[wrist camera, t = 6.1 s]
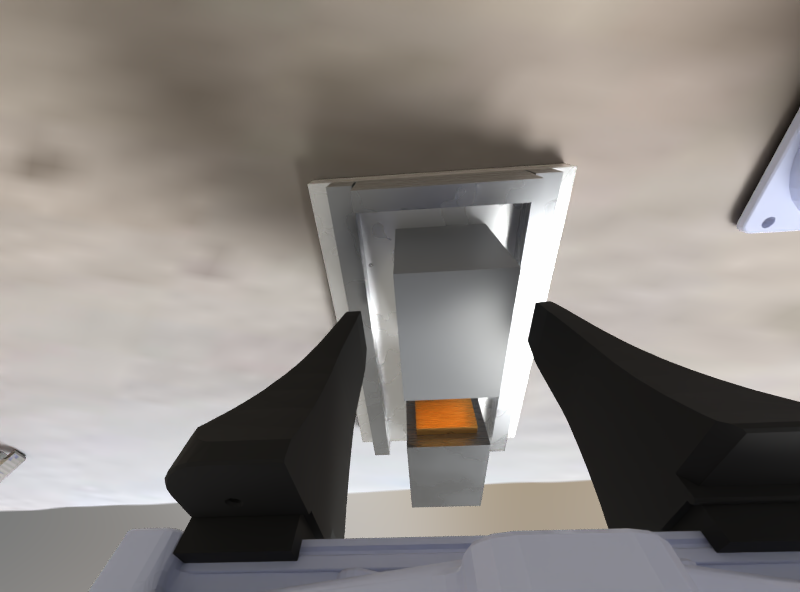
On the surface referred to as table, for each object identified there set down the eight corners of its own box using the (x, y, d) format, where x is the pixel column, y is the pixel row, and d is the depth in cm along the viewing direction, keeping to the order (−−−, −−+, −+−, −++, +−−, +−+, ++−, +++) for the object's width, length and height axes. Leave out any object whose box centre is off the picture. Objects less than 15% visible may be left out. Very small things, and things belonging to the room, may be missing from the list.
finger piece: (485, 223, 13) (520, 267, 9) (475, 337, 16) (498, 405, 12) (395, 228, 13) (393, 274, 9) (403, 341, 16) (404, 408, 13)
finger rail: (565, 163, 13) (663, 188, 8) (509, 424, 22) (539, 508, 17) (313, 180, 13) (263, 213, 8) (364, 429, 22) (354, 512, 17)
